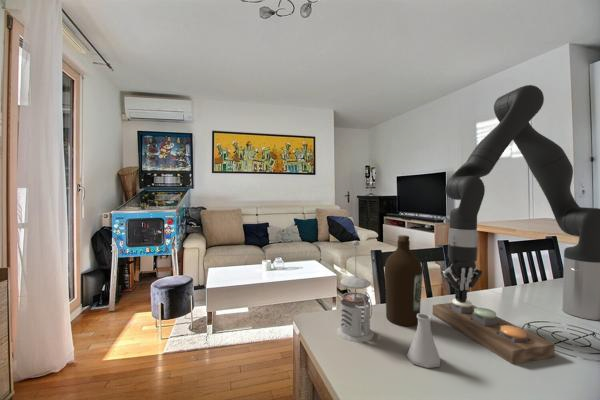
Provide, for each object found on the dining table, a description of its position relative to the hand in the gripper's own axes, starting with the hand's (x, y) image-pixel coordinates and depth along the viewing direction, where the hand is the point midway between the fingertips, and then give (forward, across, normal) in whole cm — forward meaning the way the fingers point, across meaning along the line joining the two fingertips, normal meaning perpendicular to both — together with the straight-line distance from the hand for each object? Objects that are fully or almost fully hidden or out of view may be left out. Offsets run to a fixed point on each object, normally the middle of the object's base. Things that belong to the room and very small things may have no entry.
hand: (460, 301), depth 84 cm
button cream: (+4, 0, 0) cm, 4 cm away
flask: (+6, +24, +15) cm, 29 cm away
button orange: (+5, 0, +16) cm, 17 cm away
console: (+5, 0, +8) cm, 10 cm away
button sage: (+3, 0, +8) cm, 9 cm away
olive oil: (+6, +17, -4) cm, 18 cm away
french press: (+6, +34, +1) cm, 34 cm away
